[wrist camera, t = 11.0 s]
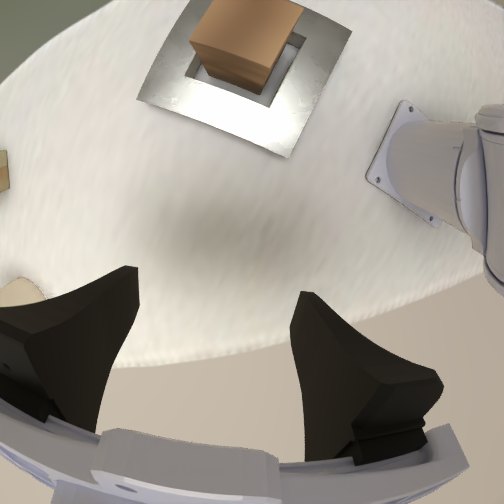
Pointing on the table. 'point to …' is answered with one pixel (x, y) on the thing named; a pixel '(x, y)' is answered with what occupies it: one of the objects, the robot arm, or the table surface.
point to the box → (3, 171)
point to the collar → (239, 108)
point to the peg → (244, 39)
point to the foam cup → (20, 293)
